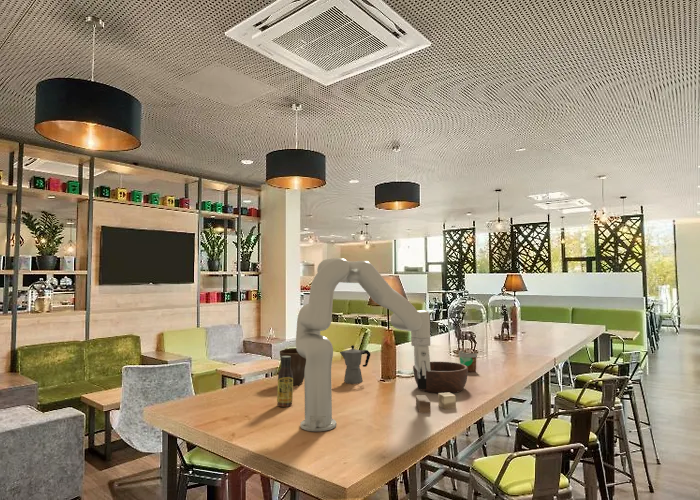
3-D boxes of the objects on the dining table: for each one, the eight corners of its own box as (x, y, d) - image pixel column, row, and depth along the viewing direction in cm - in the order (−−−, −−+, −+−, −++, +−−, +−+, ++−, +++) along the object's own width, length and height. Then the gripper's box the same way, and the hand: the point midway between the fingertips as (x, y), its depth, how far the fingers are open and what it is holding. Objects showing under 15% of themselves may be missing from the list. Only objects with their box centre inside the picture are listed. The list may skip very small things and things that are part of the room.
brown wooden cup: (312, 380, 231) (312, 348, 232) (307, 387, 216) (306, 353, 217) (283, 380, 233) (283, 348, 234) (276, 387, 218) (276, 353, 219)
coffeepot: (339, 384, 222) (338, 346, 223) (340, 379, 231) (340, 344, 232) (370, 384, 221) (370, 346, 222) (371, 379, 230) (370, 343, 231)
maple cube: (456, 408, 178) (455, 395, 178) (444, 409, 177) (444, 396, 177) (449, 404, 183) (449, 392, 183) (438, 406, 181) (438, 393, 182)
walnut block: (425, 405, 182) (430, 412, 173) (415, 405, 182) (420, 412, 172) (425, 395, 183) (430, 402, 173) (415, 395, 183) (419, 402, 173)
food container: (454, 369, 252) (453, 351, 253) (462, 368, 255) (462, 350, 256) (468, 373, 241) (468, 354, 242) (477, 372, 244) (477, 353, 244)
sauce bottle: (278, 408, 182) (277, 358, 183) (276, 404, 188) (276, 355, 189) (294, 406, 183) (293, 357, 185) (292, 402, 189) (291, 354, 191)
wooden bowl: (403, 386, 215) (402, 364, 216) (444, 380, 227) (444, 359, 227) (436, 398, 193) (435, 374, 194) (480, 390, 204) (479, 367, 205)
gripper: (434, 344, 173) (435, 393, 172) (426, 339, 188) (427, 384, 187) (414, 344, 173) (415, 393, 172) (408, 339, 188) (409, 384, 186)
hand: (422, 388), depth 179 cm, fingers closed
